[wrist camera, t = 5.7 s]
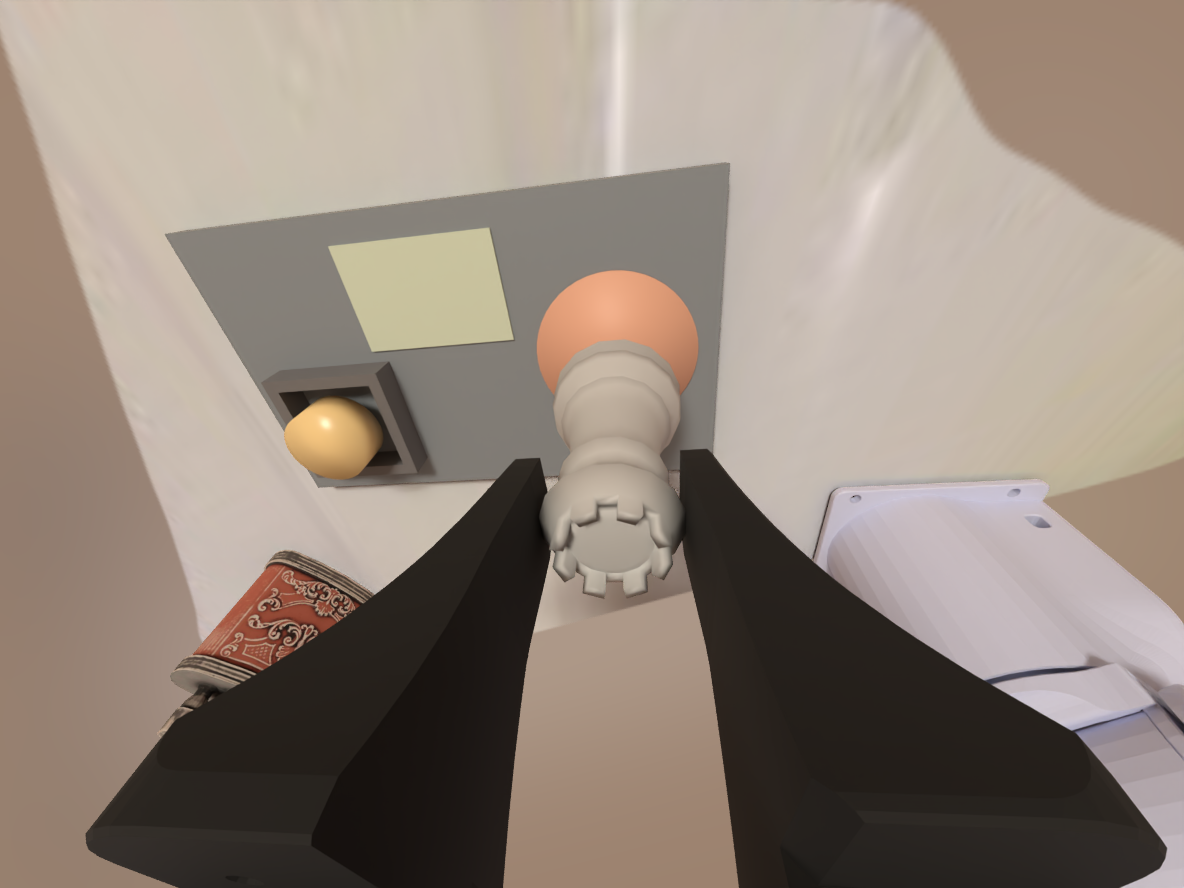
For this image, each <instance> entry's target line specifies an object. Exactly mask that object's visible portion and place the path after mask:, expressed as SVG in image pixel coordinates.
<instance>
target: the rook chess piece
mask: <svg viewBox="0 0 1184 888" xmlns="http://www.w3.org/2000/svg"><path fill="white" fill-rule="evenodd" d="M554 396H555V398H554V402H553V410H554V416H555V422H556V428H557V431H558V433H559V435H560V436H561V438H562V439H563V441H564V442H565V444H566V445H567V447H568V448H569V450H570V455H569V456H568V457H567V458H566V459H565V460H564V461H563V464H562V467H561V470H560V474H559V477H558V482H557V483H556V484H555V485H554V486H553V487H552V488H551V489H550V490H549V491H548V492H547V494H546V495H545V497H544V501H543V504H542V507H541V511H540V514H539V520H540V524H541V529H542V534H543V538H544V540H545V541H546V542H547V544H548V545H549V546H550V548H549V550H553V551H554V553H555V558H554V563H553V568H554V570H555V571H556V572H557V573H558V575H559V576H560V577H561V578H562V580H563V581H564V582H566V581H568V580H570V579H572V578H573V577H575V571H576V572H577V573H579V574H581V575H582V576H584V585H583V593H584V594H588V595H592V596H595V597H599V598H603V599H604V597H605V591H606V582H623V590H624V592H625V595H626V597H627V598H630V597H633V596H636V595H640V594H643V593H646V592H648V587H647V575H648V574H649V573H651V572H652V575H653V576H655V577H658V578H660V579H662V580H664V579H665V577H666V576H667V574H668V572H669V570H670V569H671V567H672V565H673V561H672V555H673V554H674V553H675V552H676V550H677V548H678V546H679V545H680V543H681V541H682V539H683V537H684V536H685V534H686V510H685V508H684V506H683V505H682V503H681V501H680V499H679V497H678V495H677V494H676V492H675V490H674V489H673V488H672V487H671V486H669V472H668V470H667V468H666V467H665V465H664V463H663V461H662V459H661V457H660V453H661V452H662V451H663V450H664V449H665V448H666V447H667V446H668V445H669V444H670V442H671V439H672V437H673V435H674V433H675V431H676V429H677V426H678V424H679V422H680V385H679V383H678V381H677V379H676V377H675V375H674V372H673V370H672V368H671V366H670V364H669V363H668V362H667V361H666V360H665V359H663V358H662V357H661V356H660V355H659V354H658V353H656V352H655V351H654V350H653V349H652V348H650V347H648V346H645V345H641V344H638V343H635V342H632V341H629V340H626V339H623V340H611V341H599V342H597V343H595V344H593V345H591V346H589V347H587V348H585V349H583V350H581V351H579V352H577V353H576V354H575V355H574V356H573V357H572V358H571V360H570V361H569V362H568V363H567V364H566V366H565V367H564V368H563V369H562V371H561V372H560V375H559V378H558V382H557V386H556V390H555V393H554Z"/></svg>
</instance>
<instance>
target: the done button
mask: <svg viewBox="0 0 1184 888" xmlns="http://www.w3.org/2000/svg"><path fill="white" fill-rule="evenodd" d="M284 437H285V442H286V445H287V448H288V449H289V451H290V453H291V454H292V455H293V457H294V458H295V459H296V460H297V461H298V462H299V463H300V464H301V465H303V466H304V467H305V468H307V469H308V470H310V471H312V472H313V473H316V474H318V475H320V476H323V477H326V478H330V479H337V480H343V479H349V478H353V477H355V476H357V475H358V474H359V473H360V472H361V471H362V470H363V469H364V468H365V466H366V465H367V464H368V463H369V461H370V460H371V459H372V458H373V457H374V455H375V454H376V453H377V452H378V451H379V449H380V448H381V446H382V443H383V431H382V428H381V426H380V424H379V422H378V420H377V419H376V417H375V416H374V415H373V414H372V413H371V412H370V411H369V410H368V409H367V408H365V407H364V406H362V405H361V404H359V403H358V402H356V401H354V400H351V399H349V398H345V397H341V396H325V397H322V398H320V399H318V400H316V401H315V402H314V403H312V404H311V405H310V406H309V407H307V408H306V409H305V410H304V411H302V412H301V413H300V414H299V415H297V416H296V417H295V418H294V419H292V420H291V421H290V422H289V423H288V424H287V426H286V428H285V433H284Z"/></svg>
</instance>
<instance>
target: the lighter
mask: <svg viewBox="0 0 1184 888" xmlns="http://www.w3.org/2000/svg"><path fill="white" fill-rule="evenodd" d="M372 596H374V594H373V593H371V592H370V591H369V590H367V589H366V588H364V587H363V586H361V585H360V584H358V583H357V582H355V581H354V580H352V579H350V578H349V577H347V576H346V575H344V574H342V573H340V572H338V571H336V570H334V569H332V568H331V567H329V566H327V565H325V564H323V563H321V562H319V561H316V560H314V559H312V558H310V557H308V556H305V555H303V554H301V553H299V552H296V551H292V550H282V551H279V552H277V553H276V554H275V555H274V556H273V557H272V558H271V559H270V561H269V562H268V563H267V564H266V566H265V567H264V572H263V573H262V574H261V576H260V577H259V578H258V579H257V580H256V581H255V583H254V584H253V585H252V586H251V587H250V588H249V590H248V591H247V592H246V593H245V594H244V595H243V597H242V598H241V599H240V600H239V601H238V602H237V604H236V605H235V606H234V607H233V608H232V609H231V611H230V612H229V613H228V614H227V615H226V616H225V618H224V619H223V620H222V621H221V622H220V623H219V624H218V626H217V627H216V628H215V629H214V630H213V631H212V633H211V634H210V635H209V636H208V637H207V638H206V640H205V641H204V642H203V643H202V644H201V646H200V647H199V648H198V649H197V650H196V651H195V652H194V654H193V655H191V656H188V657H186V658H184V660H183V661H182V662H181V663H180V664H179V665H178V666H177V668H176V669H175V670H174V671H173V672H172V673H171V675H170V677H171V680H172V681H173V682H174V683H175V684H176V685H177V686H179V687H181V688H182V689H184V690H186V691H188V692H190V693H192V694H194V695H192V696H191V697H190V698H188V699H187V700H186V701H185V702H184V703H183V704H182V706H181V707H180V708H178V709H177V710H176V711H175V712H174V713H173V714H172V716H171V717H170V718H169V719H168V721H167V722H166V723H165V725H164V726H163V727H162V728H161V729H160V731H159V732H158V733H157V734H158V735H159V736H160V737H162V736H163V735H164V734H165V732H166V731H167V730H168V729H169V727H170V726H171V725H172V723H173V722H174V721H175V720H176V719H178V718H180V717H181V716H183V715H185V714H187V713H189V712H191V711H192V710H194V709H196V708H198V707H200V706H201V705H203V704H205V703H207V702H208V701H210V700H212V699H214V698H215V697H217V696H219V695H221V694H222V693H224V692H226V691H228V690H229V689H231V688H233V687H235V686H236V685H238V684H240V683H242V682H243V681H245V680H247V679H249V678H250V677H252V676H254V675H256V674H257V673H259V672H261V671H262V670H264V669H266V668H267V667H269V666H271V665H272V664H274V663H275V662H277V661H279V660H280V659H282V658H283V657H285V656H287V655H288V654H290V653H291V652H293V651H295V650H296V649H298V648H299V647H301V646H302V645H304V644H306V643H307V642H309V641H310V640H312V639H313V638H315V637H316V636H318V635H319V634H321V633H322V632H324V631H325V630H327V629H328V628H330V627H331V626H333V625H334V624H336V623H337V622H338V621H340V620H341V619H343V618H344V617H345V616H347V615H348V614H349V613H351V612H352V611H353V610H355V609H356V608H358V607H359V606H360V605H362V604H363V603H364V602H366V601H367V600H368V599H370V598H371V597H372Z"/></svg>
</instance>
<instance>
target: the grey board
mask: <svg viewBox="0 0 1184 888" xmlns="http://www.w3.org/2000/svg"><path fill="white" fill-rule="evenodd" d="M729 172H730V163H718V164H710V165H702V166H694V167H686V168H678V169H670V170H662V171H654V172H646V173H638V174H631V175H623V176H615V177H607V178H599V179H591V180H583V181H575V182H567V183H559V184H551V185H543V186H535V187H527V188H520V189H512V190H504V191H496V192H488V193H480V194H472V195H464V196H456V197H448V198H440V199H432V200H424V201H416V202H408V203H401V204H393V205H385V206H377V207H369V208H361V209H353V210H345V211H337V212H329V213H321V214H313V215H305V216H297V217H289V218H282V219H274V220H266V221H258V222H250V223H242V224H234V225H226V226H218V227H210V228H202V229H194V230H186V231H180V232H174V233H168V234H165V236H166V237H167V239H168V241H169V242H170V244H171V246H172V247H173V249H174V251H175V252H176V254H177V256H178V257H179V259H180V260H181V262H182V264H183V265H184V267H185V269H186V270H187V272H188V274H189V275H190V277H191V279H192V280H193V282H194V284H195V285H196V287H197V288H198V290H199V292H200V293H201V295H202V297H203V298H204V300H205V302H206V303H207V305H208V307H209V308H210V310H211V312H212V313H213V315H214V316H215V318H216V320H217V321H218V323H219V325H220V326H221V328H222V330H223V331H224V333H225V335H226V336H227V338H228V340H229V341H230V343H231V344H232V346H233V348H234V349H235V351H236V353H237V354H238V356H239V358H240V359H241V361H242V363H243V364H244V366H245V368H246V369H247V371H248V372H249V374H250V376H251V377H252V379H253V381H254V382H255V384H256V386H257V387H258V389H259V391H260V392H261V394H262V396H263V397H264V399H265V400H266V402H267V404H268V405H269V407H270V409H271V410H272V412H273V414H274V415H275V417H276V419H277V420H278V422H279V424H280V425H281V427H282V428H283V430H284V432H285V428H286V426H287V424H288V423H289V422H290V421H291V420H292V419H294V418H295V417H296V416H297V415H299V414H300V413H301V412H302V411H304V410H305V409H306V408H307V407H309V406H310V405H311V404H312V403H314V402H315V401H316V400H318V399H320V398H322V397H325V396H341V397H345V398H349V399H351V400H354V401H356V402H358V403H359V404H361V405H362V406H364V407H365V408H367V409H368V410H369V411H370V412H371V413H372V414H373V415H374V416H375V417H376V419H377V420H378V422H379V424H380V426H381V428H382V431H383V443H382V446H381V448H380V449H379V451H378V452H377V453H376V454H375V455H374V457H373V458H372V459H371V460H370V461H369V463H368V464H367V465H366V466H365V468H364V469H363V470H362V471H361V472H360V473H359V474H358V475H357V476H355V477H353V478H349V479H343V480H337V479H330V478H326V477H323V476H320V475H318V474H316V473H313V472H312V471H310V470H308V469H307V470H308V471H309V473H310V475H311V476H312V478H313V479H314V481H315V483H316V484H317V486H318V488H319V487H340V486H360V485H380V484H401V483H421V482H441V481H462V480H482V479H498V478H499V477H500V475H501V474H502V473H503V472H504V471H505V470H506V469H507V468H508V467H509V465H510V464H511V463H512V462H513V461H514V460H515V459H525V458H540V460H541V464H542V469H543V473H544V476H559V474H560V470H561V467H562V464H563V461H564V460H565V459H566V458H567V457H568V456H569V455H570V450H569V448H568V447H567V445H566V444H565V442H564V441H563V439H562V438H561V436H560V435H559V433H558V431H557V428H556V422H555V416H554V410H553V402H554V398H555V396H554V393H555V390H556V386H557V382H558V378H559V375H560V372H561V371H562V369H563V368H564V367H565V366H566V364H567V363H568V362H569V361H570V360H571V358H572V357H573V356H574V355H575V354H576V353H577V352H579V351H581V350H583V349H585V348H587V347H589V346H591V345H593V344H595V343H597V342H599V341H611V340H623V339H626V340H629V341H632V342H635V343H638V344H641V345H645V346H648V347H650V348H652V349H653V350H654V351H655V352H656V353H658V354H659V355H660V356H661V357H662V358H663V359H665V360H666V361H667V362H668V363H669V364H670V366H671V368H672V370H673V372H674V375H675V377H676V379H677V381H678V383H679V385H680V422H679V424H678V426H677V429H676V431H675V433H674V435H673V437H672V439H671V442H670V444H669V445H668V446H667V447H666V448H665V449H664V450H663V451H662V452H661V453H660V457H661V459H662V461H663V463H664V465H665V467H666V468H667V470H680V450H692V449H708V450H709V451H710V452H712V454H713V437H714V421H715V404H716V388H717V371H718V354H719V338H720V321H721V305H722V288H723V271H724V255H725V238H726V222H727V205H728V189H729Z"/></svg>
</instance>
